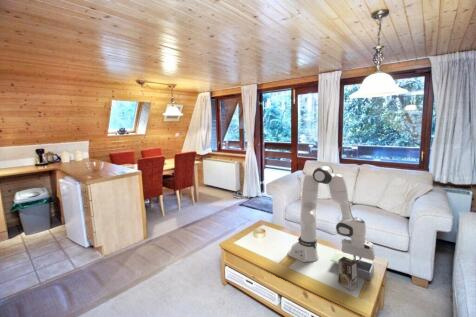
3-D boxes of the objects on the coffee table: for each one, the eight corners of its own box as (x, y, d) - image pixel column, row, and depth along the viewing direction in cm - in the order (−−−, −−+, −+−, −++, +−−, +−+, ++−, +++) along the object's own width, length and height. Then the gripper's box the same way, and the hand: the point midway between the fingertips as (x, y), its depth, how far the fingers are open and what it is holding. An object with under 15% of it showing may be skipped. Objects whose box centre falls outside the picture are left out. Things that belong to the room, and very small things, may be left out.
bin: (345, 272, 162) (345, 265, 162) (350, 264, 172) (350, 257, 171) (370, 280, 153) (370, 272, 153) (373, 271, 163) (373, 263, 162)
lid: (330, 260, 168) (330, 257, 167) (336, 253, 178) (336, 249, 177) (353, 267, 159) (353, 263, 158) (357, 258, 169) (357, 255, 168)
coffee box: (357, 286, 148) (358, 262, 146) (351, 291, 144) (352, 265, 142) (343, 279, 155) (343, 256, 153) (337, 283, 152) (338, 259, 150)
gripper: (340, 240, 165) (340, 259, 167) (374, 248, 152) (373, 268, 154) (342, 236, 170) (342, 255, 172) (375, 244, 157) (375, 264, 159)
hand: (357, 261), depth 163 cm, fingers closed
